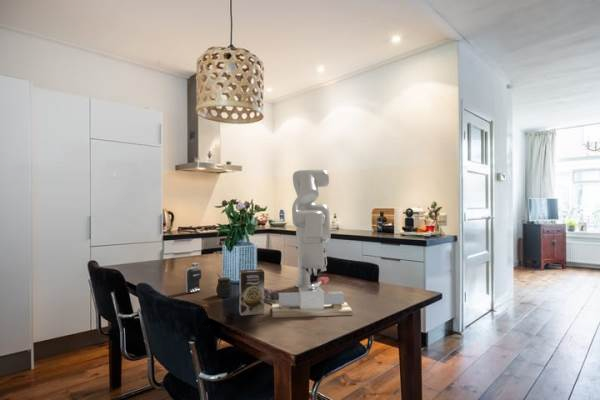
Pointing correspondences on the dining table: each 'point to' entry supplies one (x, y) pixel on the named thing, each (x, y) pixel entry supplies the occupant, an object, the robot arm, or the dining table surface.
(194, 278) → the battery charger
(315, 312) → the valve board
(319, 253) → the robot arm
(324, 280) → the lever
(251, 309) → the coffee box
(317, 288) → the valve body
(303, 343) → the dining table surface
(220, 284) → the mate gourd
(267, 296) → the walkie-talkie
